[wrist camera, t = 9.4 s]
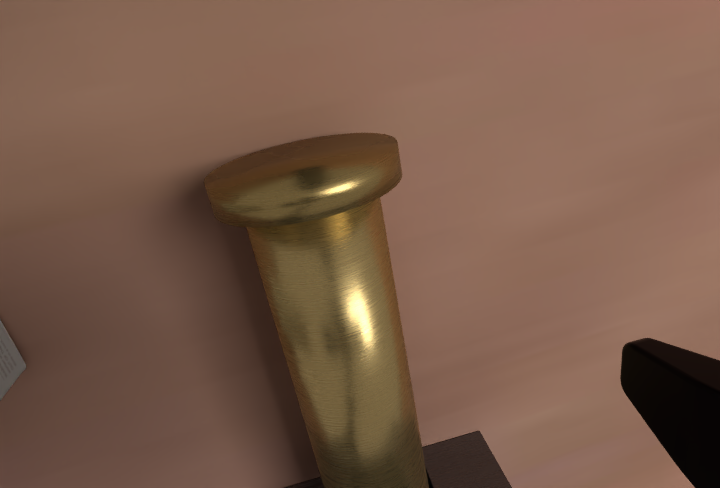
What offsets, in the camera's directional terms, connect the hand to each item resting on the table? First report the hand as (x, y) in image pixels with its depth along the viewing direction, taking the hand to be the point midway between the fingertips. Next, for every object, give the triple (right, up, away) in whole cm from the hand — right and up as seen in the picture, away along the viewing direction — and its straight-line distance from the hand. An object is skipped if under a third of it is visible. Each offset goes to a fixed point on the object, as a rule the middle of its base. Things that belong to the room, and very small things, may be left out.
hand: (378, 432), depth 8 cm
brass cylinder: (-1, 0, +13) cm, 13 cm away
